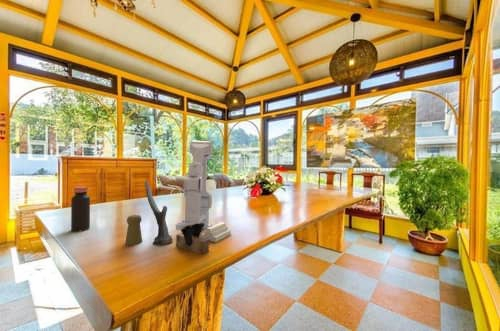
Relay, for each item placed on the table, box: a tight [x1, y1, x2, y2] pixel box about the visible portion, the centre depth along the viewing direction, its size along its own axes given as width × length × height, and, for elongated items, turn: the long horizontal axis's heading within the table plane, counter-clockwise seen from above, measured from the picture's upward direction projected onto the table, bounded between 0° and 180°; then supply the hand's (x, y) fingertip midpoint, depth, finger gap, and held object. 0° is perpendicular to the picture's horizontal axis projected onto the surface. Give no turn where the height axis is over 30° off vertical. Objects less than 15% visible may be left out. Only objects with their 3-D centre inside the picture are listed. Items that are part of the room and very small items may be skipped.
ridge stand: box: [200, 221, 232, 243], centre depth 92 cm, size 8×11×5 cm
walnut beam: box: [175, 232, 210, 255], centre depth 79 cm, size 14×3×4 cm, turn 61°
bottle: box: [70, 186, 91, 233], centre depth 96 cm, size 7×7×20 cm
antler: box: [144, 180, 174, 246], centre depth 84 cm, size 12×8×25 cm
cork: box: [125, 214, 143, 246], centre depth 83 cm, size 6×6×11 cm
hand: (192, 243), depth 79 cm, fingers closed on walnut beam, 3 cm apart
